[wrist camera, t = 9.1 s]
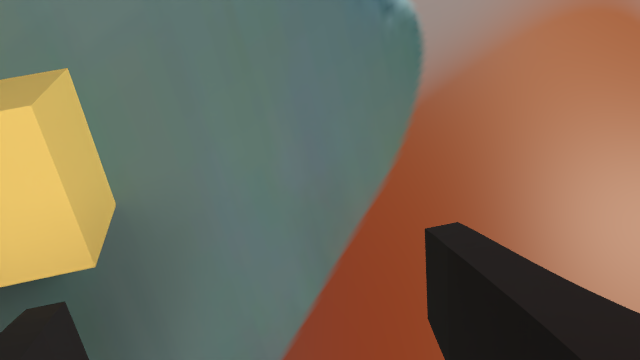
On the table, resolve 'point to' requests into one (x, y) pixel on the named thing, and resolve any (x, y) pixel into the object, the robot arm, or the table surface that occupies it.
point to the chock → (48, 181)
